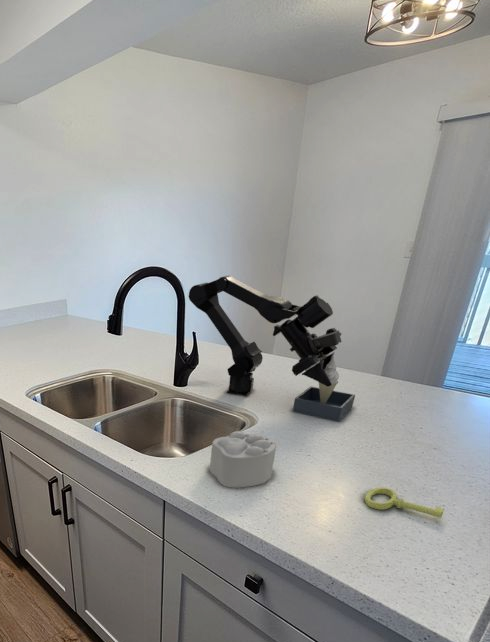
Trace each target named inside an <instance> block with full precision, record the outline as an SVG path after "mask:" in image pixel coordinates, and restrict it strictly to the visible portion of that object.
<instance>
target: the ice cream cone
mask: <svg viewBox="0 0 490 642" xmlns="http://www.w3.org/2000/svg"><path fill="white" fill-rule="evenodd" d="M335 361H336V360H335V357H334V356H333V358H332V360H331V361H330V362H329V364H327V365H326V368H325V369H324V371H325V372H326V374H327V376H328V378H329V380H330V382H331V384H332V385H331V386H329V387H327V386H325V385H324V384H322V383H320V382H318V388H319V391H320V403H324V404H325V403H326V402H327V400H328V398H329V396H330V395H331V393H332V391H335V388H336V387H337V384H339V378H340V374H339V372H338V370H337V365H336V362H335Z"/></svg>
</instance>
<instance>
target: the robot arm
mask: <svg viewBox="0 0 490 642" xmlns="http://www.w3.org/2000/svg"><path fill="white" fill-rule="evenodd" d="M222 292H224V293H225V294H227V295H230V296H231V297H232V298H233V297H234V298H235V299H237V300H239V301H241V302H242V303H244V304H246V305H248V306H250V307H251V308H254V309H255V310H256V311H257V312H258V314H259V315H260V316H261V317H262V318H263V319H264V320H266V321H267V322H269V323H271V324H276V325H275V326H274V327H273V332H272V336H273V337H275V336H276V337H277V335H279V334H281V335H282V336H283V338H284V339H285V340H286V342H287V343H288V345H289V346H290V348H289V350H290V352H291V353H292V352H295V354H296V355H297V356H298V358H299V360H298V362H296V363H295V364H293V365H292V369H291V372H292V374H294V376H295V377H297V376H298V375H300V374H301V375H302V376H304V377H305V376H306V377H307V378H309V379H312V380H314V381H315V382H318V383H319V382H320V383H322V384H324V385H325V386H327V387H329V386H331V385H332V384H331V382H330V380H329V378H328V376H327V374H326V372H325V371H324V369H325V368H326V365H327V364H329V362H330V361H331V360H332V358H333V357H334V355H335V351H336V350H337V349H338V347H337V346H338V345H339V343H342V338H341V336H342V332H340V330H337V329H336V328H335V327H332V328H331V327H330V328H328V329H327V330H326V331H325V333H324V334H322V335H317V334H316V333H314V332H313V333H310V331H309V330H308V329H307V328H311V329H315V328H316V327H317V326H318V325H320V324H321V323H323V322H324V321H326V320H327V319H328V318H330V317H331V316H333V314H334V311H333V308H332V306H331V304H329V303H328V302H327V301H325V300H324V299H323V298H320V296H319V295H317V294H315V295H314V296H313V297H311V298H310V299H309V300H308V301H307V302H306V303H304V304H303V305H302V306H301V305H298V304H297V305H296V304H293V303H292V302H291V301H290V300H288V299H285V298H283V297H280V296H279V297H278V296H273V295H268V294H265V293H263V292H261V291H259V290H257V289H255V288H253V287H251V286H249V285H248V284H245V283H243V282H241V281H240V280H238V279H236V278H234V277H233V276H231V275H224V276H220V277H218V278H217V279H215V280H213V281H210V282H204V283H198V284H195V285H192V287H190V289H189V291H188V299H189V301H190V302H191V304H193V306H194V307H195V308H197V309H198V310H200V311H201V312H203V313H205V314H206V315H207V317H208V319H209V320H210V321H211V323H212V324H213V326H214V327H215V329H216V330H217V332H218V333H219V334H220V336H221V337H222V339H223V340H224V341H225V343H226V345H227V346H228V347H229V349H230V351H231V358H232V361H233V364H232V365H231V366H230V367H228V368H227V374H228V376H229V384H228V389H227V390H226V393H227V394H232V395H239V396H248V395H250V393H251V392H252V391H253V390H254V382H255V378H254V377H253V376H254V373H253V372H255V371H256V369H257V368H258V367H259V366H261V364H262V363H263V358H264V357H263V354H262V353H263V350H261V349H260V348H259V347H258V345H257V343H256V342H255V341H251V342H248V341H247V340H245V338H244V337H243V336H242V334H241V333H240V331H239V330H238V329H237V327H236V325H234V323H233V322H232V319H230V317H229V316H228V313H226V312H225V310H224V309H223V308H222V306H221V305H220V300H219V295H218V294H221V293H222ZM293 317H294V319H291V318H293ZM281 322H283V323H281ZM277 323H278V324H277ZM279 323H281V324H279Z"/></svg>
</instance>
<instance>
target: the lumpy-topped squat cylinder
mask: <svg viewBox="0 0 490 642" xmlns="http://www.w3.org/2000/svg"><path fill="white" fill-rule="evenodd" d="M276 450H277V445H276V442H275V441H273V440H272V439H271V438H268V437H264V436H262V435H260V434H256V433H254V434H253V433H252V434H248V433H244V432H242V431H239V430H237V431H233V432H231V433H230V434H229V435H226V436H220V437H216V438H215V439H213V440H212V443H211V453H210V463H209V472H210V473H211V475H212V476H214V477H215V478H216V479H217V481H218V482H219V484H221V485H222V486H224V487H227V488H233V489H235V488H236V489H237V488H248V487H249V488H250V487H254V486H259V485H263V484H265V483H267V482H268V481H269V480H270V479H271V477H272V475H273V469H274V468H273V467H274V462H275V455H276Z"/></svg>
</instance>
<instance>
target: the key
mask: <svg viewBox="0 0 490 642" xmlns="http://www.w3.org/2000/svg"><path fill="white" fill-rule="evenodd" d="M378 494H380V495H381V494H383V495H387V496H389V497H391V498H390V499H389V500H386V501H384V502H377V501H374V500H372V499H371V498H372V497H373V496H375V495H378ZM397 496H398V495H397V492H396V491H395V490H393V489H391V488H388V487H376V488H372V489H371V490H369V491H367V492H366V494H365V495H364V497H363V498H364V501H365V504H366V505H367V506H368V507H369V508H372V509H376V510H387V509H390V508H392V507H393V506H396V507H397V509H401V508H403V509H408V510H412V511H415V512H419V513H423V514H425V515H429V516H433V517H436V518H440V519H441V518H442V517H443V514H444V511H445V508H444V507H442V508H441V507H439V506H436V507H435V508H432V507H428V506H424V505H420V504H416V503H413V502H409V501H405V500H404V499H403V498H401V497H400V498H399V499H398V497H397Z"/></svg>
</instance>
